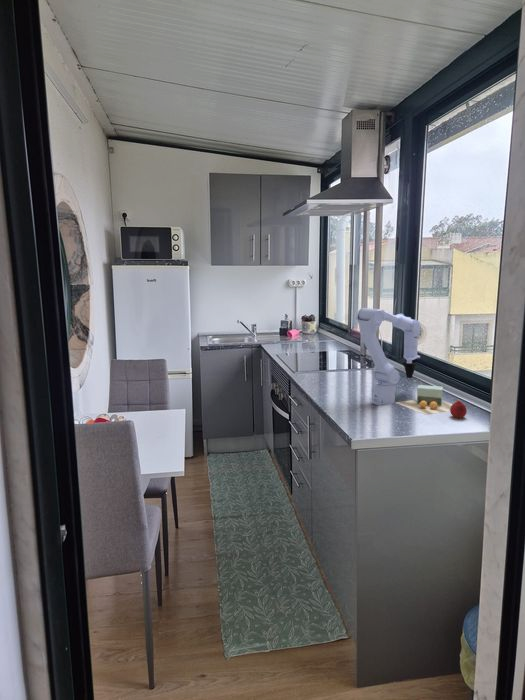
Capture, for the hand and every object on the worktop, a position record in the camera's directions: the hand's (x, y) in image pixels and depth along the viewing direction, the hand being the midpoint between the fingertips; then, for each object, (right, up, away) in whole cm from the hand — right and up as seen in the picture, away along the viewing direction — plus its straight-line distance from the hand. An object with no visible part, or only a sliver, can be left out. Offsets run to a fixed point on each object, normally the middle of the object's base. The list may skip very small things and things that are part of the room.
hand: (410, 375), depth 205 cm
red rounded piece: (+9, -16, -29) cm, 34 cm away
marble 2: (+4, -11, -18) cm, 21 cm away
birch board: (+4, -13, -13) cm, 18 cm away
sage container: (+5, -11, -10) cm, 16 cm away
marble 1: (0, -11, -16) cm, 20 cm away
